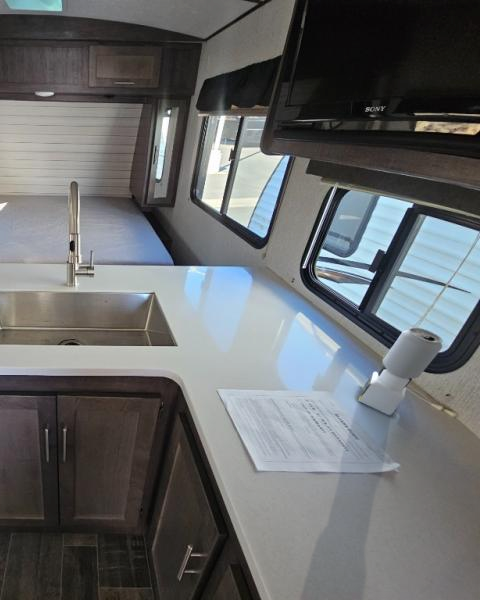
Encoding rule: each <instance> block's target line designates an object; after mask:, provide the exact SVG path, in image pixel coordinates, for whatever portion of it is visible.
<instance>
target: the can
mask: <svg viewBox="0 0 480 600" xmlns="http://www.w3.org/2000/svg"><path fill="white" fill-rule="evenodd" d="M443 341H444V340H443V338H442V337H441V336H440V335H438V334H437V333H434V332H432V331H431V330H428V329H424V328H420V327H414V326H413V327H409V328H408V329H407V330H404V331H402V332H401V334H399V336H398V337H397V339H396V341H395V342H394V344H393V345H392V346H391V348H390V350H388V352H387V354H386V355H385V356H384V358H383V359H382V364H383V366H384V365H385V367H386V369H388V370H389V371H390V372H392V373H393V374H395V375H397V376H400V377H403V378H412V379H418V378H419V377H420V376H421V375H422V373H423V372H424V371H425V370H426V369H427V367H428V366H429V365H430V364H431V362H433V360H434V359H435V358H436V356H437V355H438V354H439V353H440V351H441V350H442V349H443Z"/></svg>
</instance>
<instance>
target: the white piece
mask: <svg viewBox="0 0 480 600" xmlns="http://www.w3.org/2000/svg"><path fill="white" fill-rule="evenodd" d="M412 380H413V378H403V377H400V376H397V375H395V374H393V373H392V372H390V371H389V370H388V369H386V367H385V365H384V364H383V366H382V367H381V368H380V370H378V372H377V371H373V372H372V373H371V375H370V376H369V378H368V380H367V381H366V382H365V384H364V386H363V387H362V389H361V392H360V394H359V398H358V402H360V403H363V404H364V405H367V406H369V407H370V408H372V409H375V410H376V411H379V412H381V413H383V414H385V415H388V416H391V415H392V414H394V412H395V411H396V410H397V408H398V407H399V405H400V404H401V403H402V402H403V401H404V400H405V396H406V392H407V391H406V390H407V386H408V385H409V384H410V382H411V381H412Z"/></svg>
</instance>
